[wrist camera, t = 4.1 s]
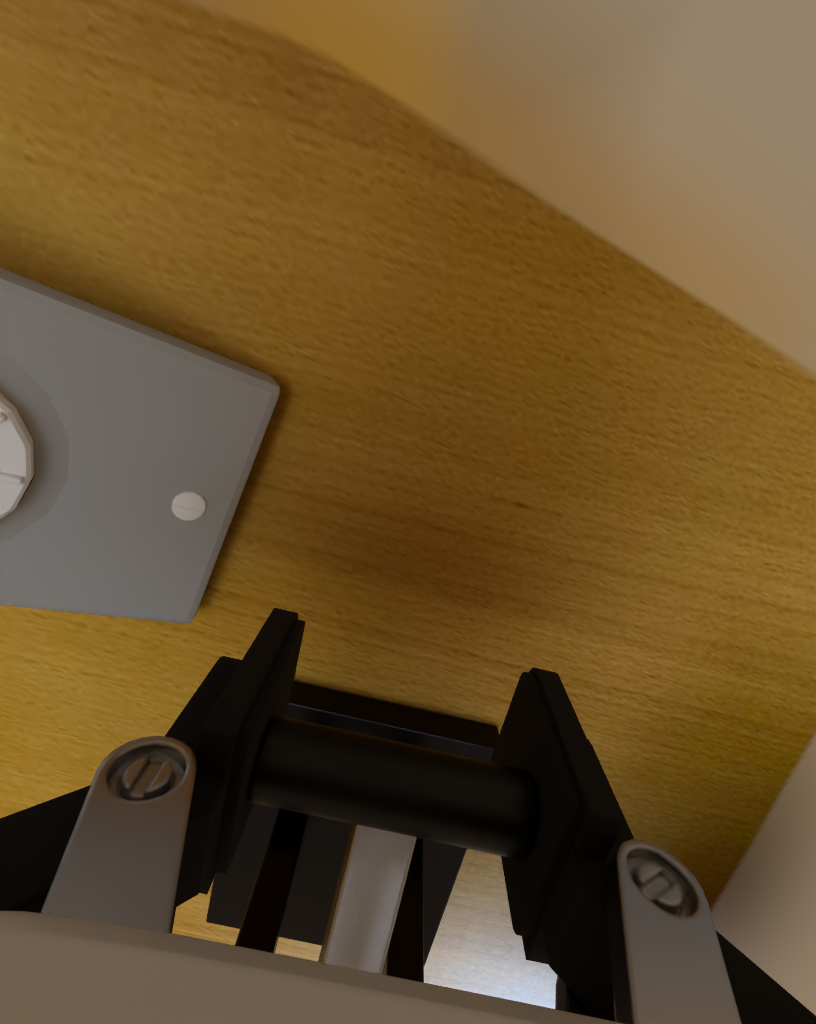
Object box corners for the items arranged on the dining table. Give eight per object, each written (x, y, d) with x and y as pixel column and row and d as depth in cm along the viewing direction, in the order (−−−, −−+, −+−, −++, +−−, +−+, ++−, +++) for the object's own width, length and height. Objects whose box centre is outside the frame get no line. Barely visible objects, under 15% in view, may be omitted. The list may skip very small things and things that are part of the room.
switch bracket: (257, 672, 18) (-39, 1213, 6) (497, 726, 18) (629, 1329, 7) (217, 891, 21) (-32, 1528, 9) (424, 934, 21) (428, 1595, 10)
